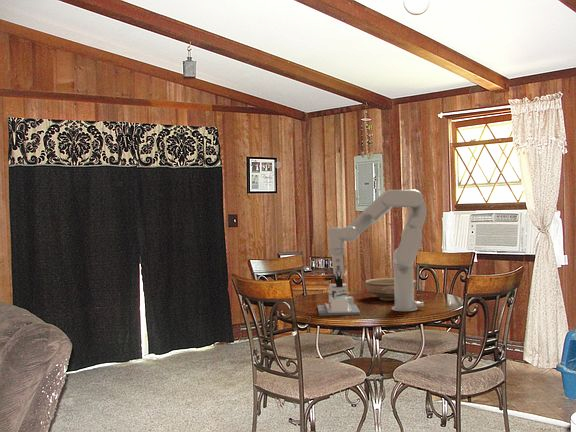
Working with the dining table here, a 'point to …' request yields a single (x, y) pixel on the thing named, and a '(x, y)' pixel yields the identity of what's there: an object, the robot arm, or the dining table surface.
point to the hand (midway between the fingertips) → (338, 285)
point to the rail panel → (324, 310)
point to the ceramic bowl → (382, 288)
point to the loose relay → (350, 300)
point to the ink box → (337, 292)
